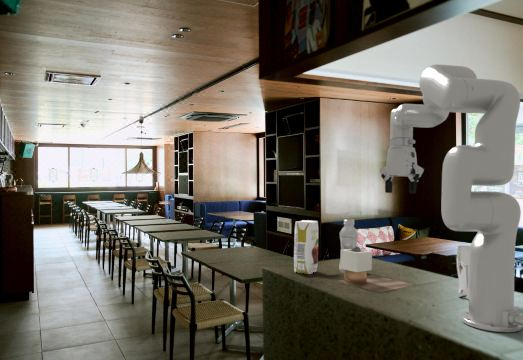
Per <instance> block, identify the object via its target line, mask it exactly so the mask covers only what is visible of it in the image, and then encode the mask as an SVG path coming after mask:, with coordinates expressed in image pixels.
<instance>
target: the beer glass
mask: <svg viewBox="0 0 523 360" xmlns="http://www.w3.org/2000/svg"><path fill="white" fill-rule="evenodd" d="M470 247H471V245H458V246H457V250H456V260H455V261H456V271H457V272H456V273H457V277H458V293H459V294H462V295H461V296H458V298H459V299H461V300H466V301H469V261H470Z"/></svg>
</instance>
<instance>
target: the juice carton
mask: <svg viewBox="0 0 523 360" xmlns="http://www.w3.org/2000/svg"><path fill="white" fill-rule="evenodd" d="M293 241H294V242H293V243H294V244H293V246H294V247H293V267H294V268H293V271H294V273H296V272H297V274H303V273H304V275H305V274H306V275H311V274H313V272H314V273H315V272H317V269H318V263H319V221H318V220H312V219H311V220H309V219H307V220H305V219H302V220H299V221H295V224H294V238H293Z"/></svg>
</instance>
